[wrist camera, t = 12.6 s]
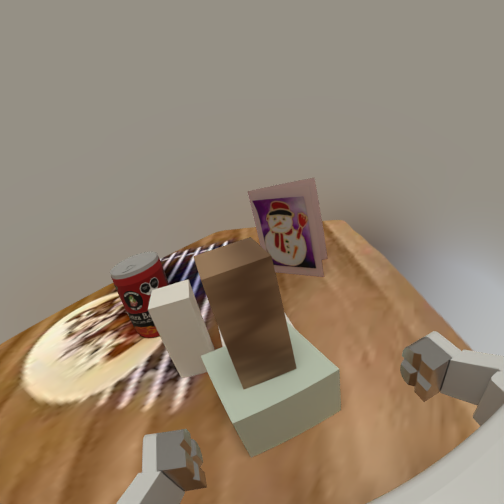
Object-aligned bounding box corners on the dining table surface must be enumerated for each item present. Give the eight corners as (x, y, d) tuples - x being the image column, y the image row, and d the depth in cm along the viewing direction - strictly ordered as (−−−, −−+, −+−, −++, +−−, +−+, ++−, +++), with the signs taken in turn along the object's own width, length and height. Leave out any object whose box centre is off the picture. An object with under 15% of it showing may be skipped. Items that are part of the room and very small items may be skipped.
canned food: (130, 340, 41) (100, 278, 37) (148, 312, 48) (125, 256, 44) (172, 337, 39) (143, 270, 36) (186, 308, 47) (164, 247, 43)
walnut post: (243, 389, 21) (201, 280, 17) (230, 356, 25) (193, 256, 21) (296, 368, 21) (271, 255, 18) (276, 338, 26) (250, 237, 22)
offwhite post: (181, 378, 31) (147, 309, 27) (181, 355, 35) (151, 290, 32) (217, 369, 32) (189, 297, 28) (213, 346, 36) (188, 279, 32)
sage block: (251, 458, 20) (232, 423, 18) (219, 395, 28) (200, 355, 26) (340, 411, 22) (339, 369, 20) (293, 361, 30) (284, 319, 28)
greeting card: (264, 273, 53) (244, 192, 47) (284, 255, 58) (268, 182, 52) (321, 279, 46) (306, 187, 40) (337, 259, 51) (325, 176, 45)
